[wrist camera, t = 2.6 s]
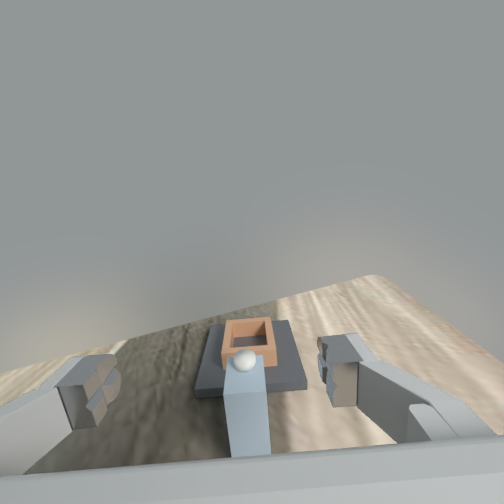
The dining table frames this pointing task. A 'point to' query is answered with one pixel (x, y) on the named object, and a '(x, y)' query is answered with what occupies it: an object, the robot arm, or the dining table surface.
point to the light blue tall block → (246, 405)
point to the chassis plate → (261, 343)
